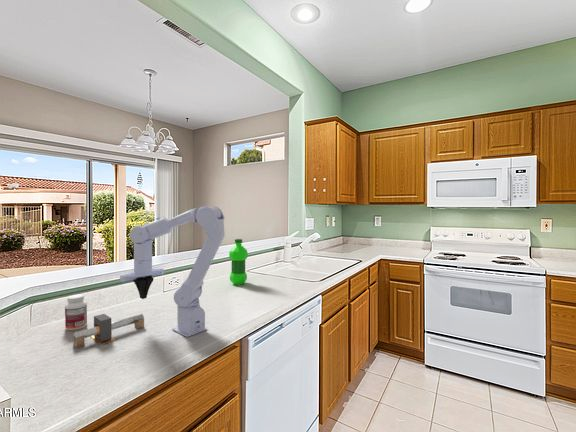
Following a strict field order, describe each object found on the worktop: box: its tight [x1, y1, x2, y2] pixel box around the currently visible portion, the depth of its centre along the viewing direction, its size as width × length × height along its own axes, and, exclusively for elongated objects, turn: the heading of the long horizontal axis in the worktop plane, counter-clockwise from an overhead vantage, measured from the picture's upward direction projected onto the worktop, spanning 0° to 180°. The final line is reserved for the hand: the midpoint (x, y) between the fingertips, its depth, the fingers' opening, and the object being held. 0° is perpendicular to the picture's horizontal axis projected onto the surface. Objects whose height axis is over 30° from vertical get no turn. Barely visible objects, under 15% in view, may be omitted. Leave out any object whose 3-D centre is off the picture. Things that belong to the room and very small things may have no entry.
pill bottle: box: [64, 294, 88, 331], centre depth 101 cm, size 6×6×11 cm
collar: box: [93, 313, 113, 342], centre depth 93 cm, size 3×6×7 cm, turn 52°
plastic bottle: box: [228, 238, 249, 286], centre depth 161 cm, size 10×10×25 cm
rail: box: [72, 313, 145, 350], centre depth 95 cm, size 20×9×4 cm, turn 142°
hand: (143, 298), depth 102 cm, fingers closed
